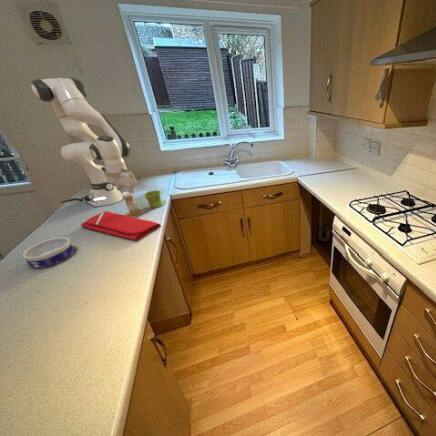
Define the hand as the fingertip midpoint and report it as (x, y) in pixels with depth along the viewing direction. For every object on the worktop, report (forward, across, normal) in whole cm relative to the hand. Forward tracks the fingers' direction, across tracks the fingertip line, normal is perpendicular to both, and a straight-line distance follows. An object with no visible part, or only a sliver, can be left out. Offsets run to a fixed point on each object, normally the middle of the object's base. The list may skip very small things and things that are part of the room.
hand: (125, 191), depth 136 cm
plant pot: (+15, -4, -13) cm, 20 cm away
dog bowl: (+14, -5, +43) cm, 46 cm away
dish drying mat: (+14, -8, +14) cm, 22 cm away
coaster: (+14, -1, 0) cm, 14 cm away
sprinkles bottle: (+14, -1, 0) cm, 14 cm away
